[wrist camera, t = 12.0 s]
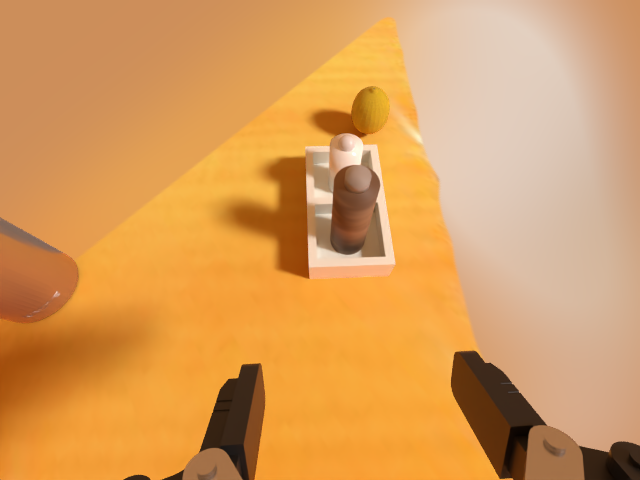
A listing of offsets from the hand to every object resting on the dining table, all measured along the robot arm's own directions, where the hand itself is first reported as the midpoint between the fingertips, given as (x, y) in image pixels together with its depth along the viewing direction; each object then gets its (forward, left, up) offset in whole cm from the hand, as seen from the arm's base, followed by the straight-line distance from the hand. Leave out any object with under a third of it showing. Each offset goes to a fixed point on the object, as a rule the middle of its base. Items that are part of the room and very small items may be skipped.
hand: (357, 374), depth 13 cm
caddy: (-14, +17, -24) cm, 32 cm away
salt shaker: (-17, +20, -22) cm, 34 cm away
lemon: (-22, +31, -24) cm, 45 cm away
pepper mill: (-11, +14, -22) cm, 28 cm away
